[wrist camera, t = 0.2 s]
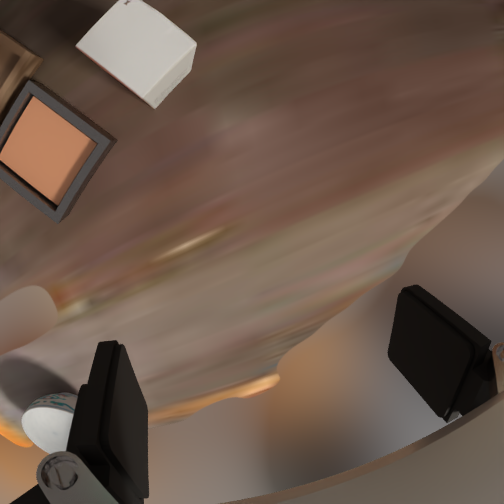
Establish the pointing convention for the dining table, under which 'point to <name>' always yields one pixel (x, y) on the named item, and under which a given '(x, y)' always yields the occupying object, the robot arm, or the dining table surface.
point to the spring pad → (46, 150)
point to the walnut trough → (14, 71)
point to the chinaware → (50, 421)
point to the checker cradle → (79, 121)
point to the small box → (140, 49)
